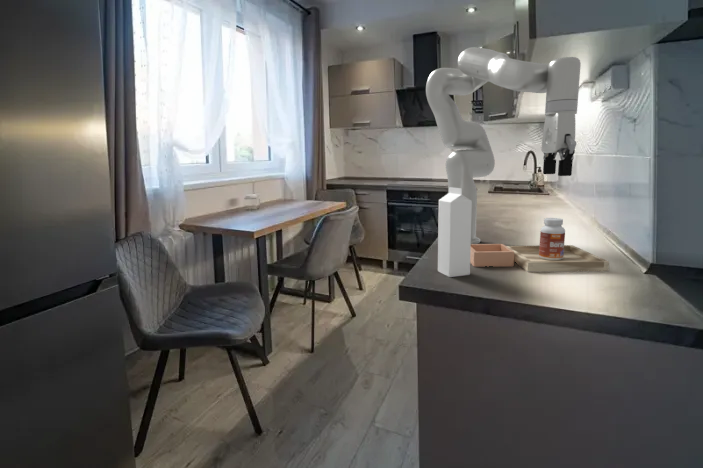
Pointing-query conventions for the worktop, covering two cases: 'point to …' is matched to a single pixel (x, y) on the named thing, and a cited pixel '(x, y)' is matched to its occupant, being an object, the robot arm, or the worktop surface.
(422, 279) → the worktop surface
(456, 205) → the milk
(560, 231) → the pill bottle
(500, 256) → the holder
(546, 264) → the tray
